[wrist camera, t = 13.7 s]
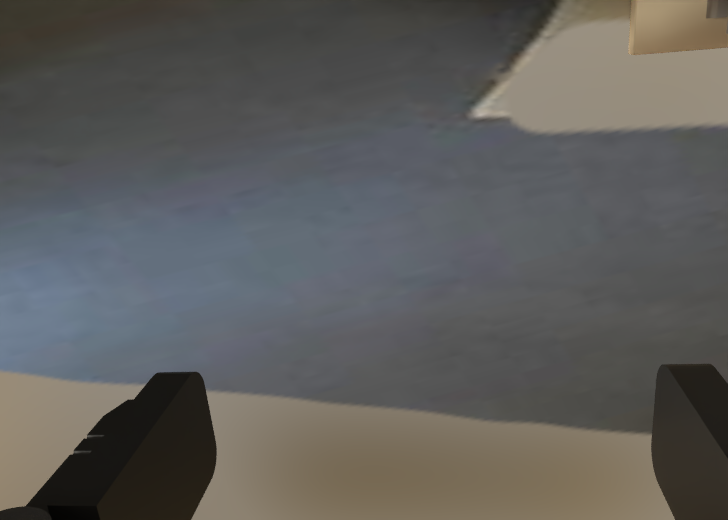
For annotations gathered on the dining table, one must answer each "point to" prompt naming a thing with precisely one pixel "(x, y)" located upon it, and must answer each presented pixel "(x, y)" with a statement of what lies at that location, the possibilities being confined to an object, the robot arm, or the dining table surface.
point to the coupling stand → (677, 25)
